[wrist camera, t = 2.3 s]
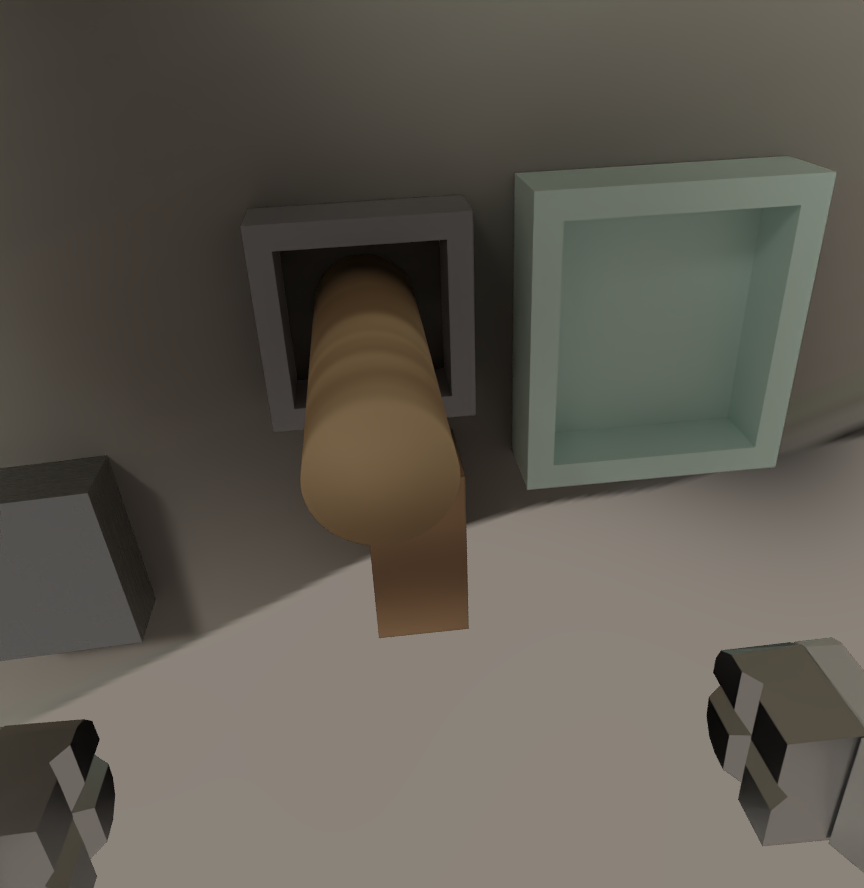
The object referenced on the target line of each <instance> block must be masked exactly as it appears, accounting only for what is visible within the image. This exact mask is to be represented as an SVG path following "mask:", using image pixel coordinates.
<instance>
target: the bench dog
mask: <svg viewBox="0 0 864 888" xmlns="http://www.w3.org/2000/svg"><path fill="white" fill-rule="evenodd" d="M450 431H451V435H452V438H453V442H454V446H455V450H456V454H457V457H458V461H459V465H460V484H459V489H458V493H457V496H456V498H455V501H454V503H453V504H452V506H451V508H450V509H449V511H448V512H447V514H446V515H445V516H444V517H443V518H442V519H441V520H440V521H439V522H438V523H437V524H436V525H435V526H434V527H432V528H431V529H429V530H428V531H426V532H425V533H423V534H421V535H419V536H417V537H415V538H413V539H410V540H407V541H404V542H400V543H396V544H390V545H370V552H371V561H372V572H373V581H374V592H375V602H376V612H377V621H378V632H379V638H384V637H394V636H404V635H413V634H422V633H432V632H442V631H451V630H460V629H468V628H469V625H468V583H467V543H466V542H467V541H466V496H465V475H464V471H463V467H462V464H461V460H460V456H459V452H458V449H457V445H456V441H455V438H454V434H453V430H452V429H450Z"/></svg>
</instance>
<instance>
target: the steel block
mask: <svg viewBox="0 0 864 888" xmlns="http://www.w3.org/2000/svg"><path fill="white" fill-rule="evenodd" d="M154 602H155V596H154V593H153V590H152V587H151V584H150V581H149V578H148V575H147V572H146V569H145V566H144V563H143V560H142V557H141V555H140V552H139V549H138V546H137V543H136V540H135V537H134V534H133V531H132V528H131V525H130V522H129V519H128V516H127V513H126V510H125V507H124V504H123V501H122V498H121V495H120V493H119V490H118V487H117V484H116V481H115V478H114V475H113V472H112V469H111V466H110V463H109V460H108V457H107V455H106V456H98V457H90V458H82V459H74V460H65V461H57V462H49V463H41V464H33V465H25V466H16V467H8V468H0V661H4V660H12V659H19V658H27V657H34V656H42V655H49V654H57V653H65V652H72V651H80V650H87V649H95V648H102V647H110V646H117V645H125V644H132V643H140V642H142V641H143V638H144V635H145V631H146V628H147V625H148V622H149V618H150V615H151V612H152V609H153V606H154Z"/></svg>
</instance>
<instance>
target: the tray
mask: <svg viewBox="0 0 864 888" xmlns="http://www.w3.org/2000/svg"><path fill="white" fill-rule="evenodd" d="M836 173H837V172H836V171H833V170H830V169H827V168H824V167H821V166H818V165H815V164H812V163H809V162H806V161H803V160H800V159H797V158H794V157H791V156H778V157H762V158H746V159H730V160H714V161H698V162H682V163H667V164H651V165H635V166H619V167H603V168H587V169H571V170H556V171H540V172H524V173H515V207H514V294H513V381H512V452H513V455H514V457H515V460H516V462H517V465H518V467H519V470H520V473H521V475H522V478H523V480H524V483H525V485H526V488H527V490H531V489H542V488H553V487H564V486H575V485H586V484H596V483H607V482H618V481H629V480H640V479H650V478H661V477H672V476H683V475H694V474H705V473H715V472H726V471H737V470H747V469H759V468H770V467H775V466H776V461H777V457H778V452H779V447H780V442H781V438H782V433H783V428H784V423H785V418H786V414H787V409H788V404H789V399H790V394H791V390H792V385H793V380H794V375H795V370H796V365H797V361H798V356H799V351H800V346H801V341H802V337H803V332H804V327H805V322H806V317H807V313H808V308H809V303H810V298H811V293H812V289H813V284H814V279H815V274H816V269H817V265H818V260H819V255H820V250H821V245H822V241H823V236H824V231H825V226H826V221H827V217H828V212H829V207H830V202H831V197H832V193H833V188H834V183H835V178H836Z"/></svg>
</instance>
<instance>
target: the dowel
mask: <svg viewBox="0 0 864 888" xmlns="http://www.w3.org/2000/svg"><path fill="white" fill-rule="evenodd" d="M300 484H301V491H302V495H303V499H304V501H305V504H306V506H307V507H308V509H309V511H310V513H311V514H312V515H313V517H314V518H315V519H316V520H317V521H318V522H319V523H320V524H321V525H322V526H323V527H324V528H326V529H327V530H328V531H330V532H331V533H333V534H335V535H337V536H338V537H341V538H343V539H346V540H348V541H352V542H355V543H359V544H365V545H390V544H396V543H400V542H404V541H407V540H410V539H413V538H415V537H417V536H419V535H421V534H423V533H425V532H426V531H428V530H429V529H431V528H432V527H434V526H435V525H436V524H437V523H438V522H439V521H440V520H441V519H442V518H443V517H444V516H445V515H446V514H447V512H448V511H449V509H450V508H451V506H452V504H453V503H454V501H455V498H456V496H457V493H458V489H459V484H460V465H459V461H458V457H457V454H456V450H455V446H454V442H453V438H452V435H451V431H450V427H449V423H448V420H447V416H446V412H445V408H444V404H443V401H442V397H441V393H440V389H439V386H438V382H437V378H436V374H435V371H434V367H433V363H432V359H431V355H430V352H429V348H428V344H427V340H426V337H425V333H424V329H423V325H422V321H421V318H420V314H419V310H418V306H417V303H416V299H415V295H414V291H413V288H412V285H411V283H410V281H409V279H408V277H407V276H406V275H405V273H404V272H403V271H402V270H401V269H400V268H399V267H398V266H397V265H395V264H394V263H393V262H391V261H389V260H387V259H385V258H382V257H379V256H375V255H368V254H360V255H354V256H350V257H347V258H344V259H342V260H340V261H338V262H337V263H335V264H334V265H332V266H331V267H330V268H329V269H328V270H327V271H326V272H325V274H324V275H323V276H322V278H321V280H320V281H319V283H318V286H317V289H316V293H315V301H314V313H313V326H312V338H311V351H310V363H309V376H308V388H307V400H306V413H305V425H304V438H303V450H302V463H301V475H300Z"/></svg>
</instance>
